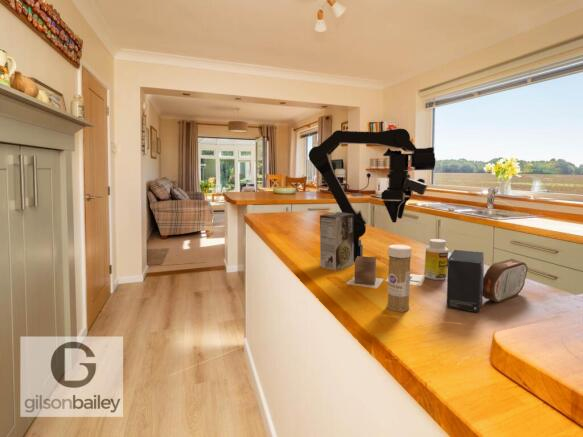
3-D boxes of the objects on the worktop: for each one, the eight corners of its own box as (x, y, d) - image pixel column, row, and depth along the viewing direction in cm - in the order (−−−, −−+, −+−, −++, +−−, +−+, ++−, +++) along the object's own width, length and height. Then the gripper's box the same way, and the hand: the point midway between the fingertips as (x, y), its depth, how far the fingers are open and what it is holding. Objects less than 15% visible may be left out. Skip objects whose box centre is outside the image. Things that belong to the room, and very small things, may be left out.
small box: (481, 313, 68) (481, 262, 67) (445, 308, 71) (445, 259, 70) (484, 296, 77) (484, 251, 76) (452, 292, 80) (452, 249, 79)
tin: (512, 289, 82) (516, 255, 80) (527, 293, 79) (531, 258, 78) (478, 302, 74) (482, 264, 72) (493, 307, 71) (497, 268, 70)
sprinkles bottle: (383, 309, 72) (384, 246, 70) (392, 302, 75) (393, 242, 73) (404, 314, 69) (406, 249, 67) (413, 307, 72) (415, 245, 70)
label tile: (385, 281, 89) (385, 280, 89) (392, 272, 97) (392, 271, 97) (421, 286, 85) (421, 285, 85) (425, 276, 93) (425, 275, 93)
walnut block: (354, 283, 88) (354, 260, 87) (357, 277, 92) (357, 256, 92) (374, 285, 86) (374, 262, 85) (376, 279, 91) (376, 257, 90)
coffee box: (337, 261, 110) (337, 211, 108) (354, 264, 105) (354, 213, 103) (319, 267, 104) (318, 214, 101) (336, 271, 99) (336, 216, 97)
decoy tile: (345, 284, 88) (345, 283, 88) (355, 275, 95) (355, 275, 95) (376, 288, 84) (376, 288, 84) (384, 279, 91) (384, 278, 91)
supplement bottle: (438, 282, 88) (440, 243, 86) (419, 276, 92) (421, 239, 91) (450, 278, 91) (453, 240, 89) (432, 273, 95) (434, 237, 94)
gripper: (421, 170, 94) (420, 226, 96) (429, 170, 110) (427, 217, 112) (381, 171, 99) (380, 224, 101) (394, 170, 115) (393, 216, 117)
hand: (397, 220), depth 108 cm, fingers open, 9 cm apart
